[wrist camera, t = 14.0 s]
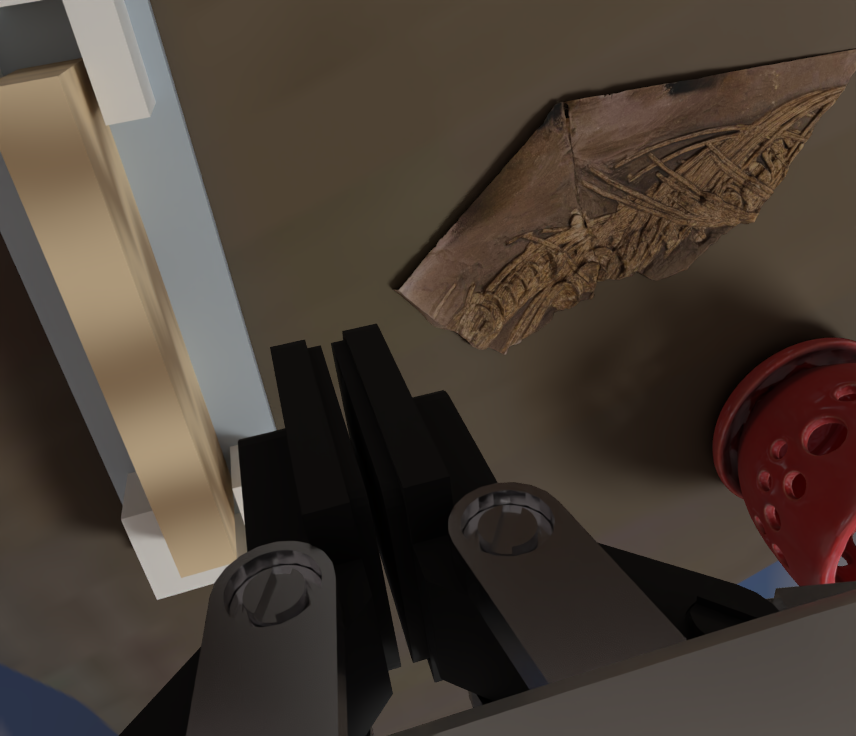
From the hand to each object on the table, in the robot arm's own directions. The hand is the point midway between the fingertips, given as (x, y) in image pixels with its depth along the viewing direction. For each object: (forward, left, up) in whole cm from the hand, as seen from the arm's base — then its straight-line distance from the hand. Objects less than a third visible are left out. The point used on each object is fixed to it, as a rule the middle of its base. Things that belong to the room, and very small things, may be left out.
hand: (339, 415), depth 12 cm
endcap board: (+6, -6, -23) cm, 24 cm away
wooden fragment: (+6, +18, -24) cm, 30 cm away
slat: (+6, -6, -22) cm, 24 cm away
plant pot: (+23, +28, -23) cm, 42 cm away
